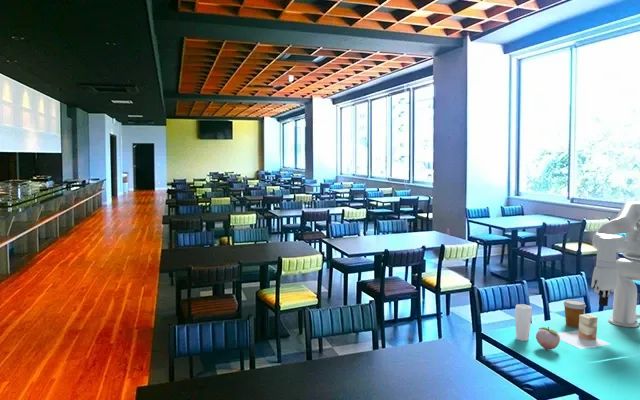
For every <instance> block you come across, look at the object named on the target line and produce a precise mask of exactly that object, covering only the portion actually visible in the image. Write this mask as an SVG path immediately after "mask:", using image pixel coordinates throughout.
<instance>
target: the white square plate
mask: <svg viewBox="0 0 640 400" xmlns="http://www.w3.org/2000/svg"><path fill="white" fill-rule="evenodd" d="M578 332H579V329H577V330H576V329H575V330H570V331H563V332H562V331H561V332H557V333H558V334H559V336H560V341H561V342H564V343H566V344H568V345H570V346H572V347H575V348H577V349H579V350H584V349H591V348H598V347H602V346H603V347H605V346H610V345H611V346H612V344H611V343H610V342H607V341H605V340H603V339H600V338H597V337H596V339H595V340H589V341H587V340H585V339H582V338H580V337H578Z"/></svg>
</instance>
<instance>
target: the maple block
mask: <svg viewBox="0 0 640 400" xmlns="http://www.w3.org/2000/svg"><path fill="white" fill-rule="evenodd" d="M597 330H598V316H595V315H593V314H590V313H584V314H583V315H579V328H578V331H579V332H578V337H580V338H582V339H585V340H587V341H589V340H595V339H596V338H597V334H598V333H597V332H598V331H597Z"/></svg>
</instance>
